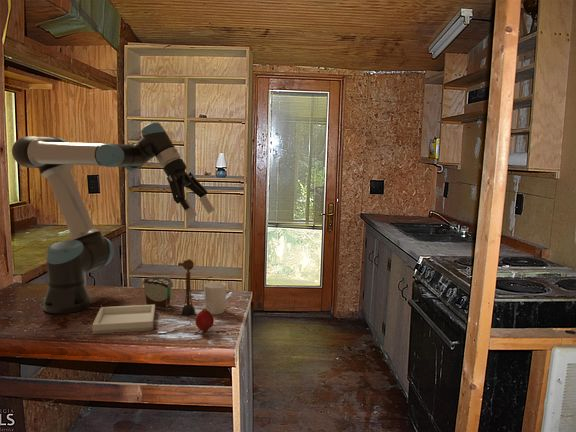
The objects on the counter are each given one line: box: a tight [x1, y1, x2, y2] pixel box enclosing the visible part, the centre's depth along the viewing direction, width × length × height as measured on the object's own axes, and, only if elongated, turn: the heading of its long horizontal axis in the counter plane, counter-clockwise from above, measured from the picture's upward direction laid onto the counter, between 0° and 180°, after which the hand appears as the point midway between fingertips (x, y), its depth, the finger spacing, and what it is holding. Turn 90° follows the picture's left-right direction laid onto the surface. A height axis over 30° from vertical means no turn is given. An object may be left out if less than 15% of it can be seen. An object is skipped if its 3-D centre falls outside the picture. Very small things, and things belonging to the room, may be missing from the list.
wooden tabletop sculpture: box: [177, 258, 196, 317], centre depth 157 cm, size 6×5×20 cm
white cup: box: [203, 281, 227, 315], centre depth 161 cm, size 8×8×10 cm
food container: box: [142, 276, 174, 310], centre depth 166 cm, size 12×6×10 cm, turn 65°
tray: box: [91, 304, 156, 335], centre depth 149 cm, size 18×16×3 cm
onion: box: [194, 307, 215, 333], centre depth 143 cm, size 6×6×8 cm
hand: (203, 214), depth 157 cm, fingers open, 13 cm apart
